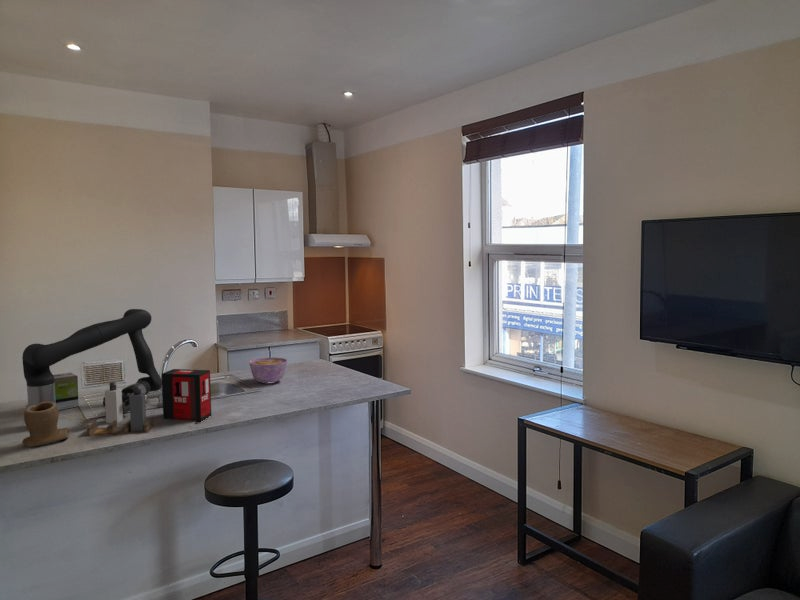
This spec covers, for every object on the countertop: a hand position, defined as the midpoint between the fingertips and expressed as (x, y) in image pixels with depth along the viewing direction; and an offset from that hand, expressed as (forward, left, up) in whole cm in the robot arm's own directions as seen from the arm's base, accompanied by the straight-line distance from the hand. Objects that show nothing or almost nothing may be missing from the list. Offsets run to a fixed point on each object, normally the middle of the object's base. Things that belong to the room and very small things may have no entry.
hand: (114, 403), depth 219 cm
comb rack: (+6, -14, -8) cm, 17 cm away
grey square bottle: (+12, -14, -7) cm, 20 cm away
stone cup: (-17, -20, -8) cm, 28 cm away
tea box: (-32, +27, -8) cm, 43 cm away
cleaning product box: (+28, 0, -8) cm, 29 cm away
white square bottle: (0, -1, -8) cm, 8 cm away
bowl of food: (+59, +58, -8) cm, 83 cm away
